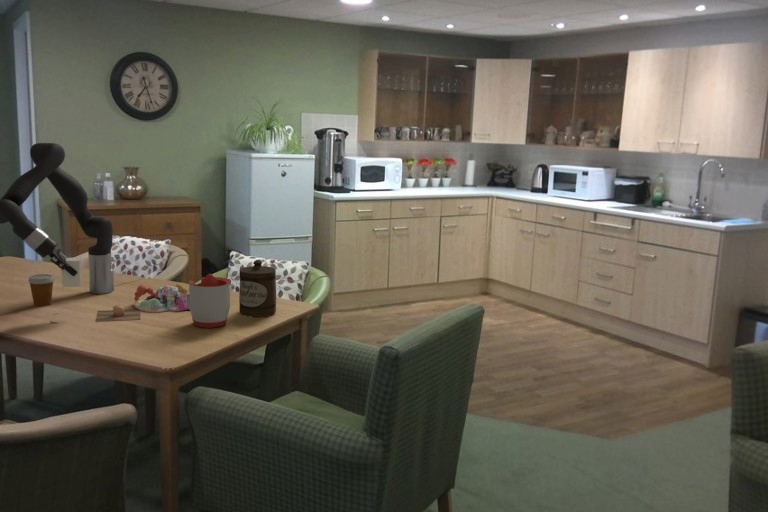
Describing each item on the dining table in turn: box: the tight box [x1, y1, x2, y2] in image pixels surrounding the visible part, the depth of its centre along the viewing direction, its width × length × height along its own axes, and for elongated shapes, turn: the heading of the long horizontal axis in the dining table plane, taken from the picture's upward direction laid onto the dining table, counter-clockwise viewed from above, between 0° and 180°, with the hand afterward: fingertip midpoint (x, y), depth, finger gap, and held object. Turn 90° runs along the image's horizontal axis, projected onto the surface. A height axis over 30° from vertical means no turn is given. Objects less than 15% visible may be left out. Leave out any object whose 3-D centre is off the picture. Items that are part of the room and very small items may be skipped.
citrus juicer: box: [188, 273, 232, 329], centre depth 269 cm, size 16×17×20 cm
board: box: [95, 308, 141, 323], centre depth 275 cm, size 16×16×1 cm
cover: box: [61, 257, 83, 288], centre depth 267 cm, size 6×6×10 cm
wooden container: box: [238, 259, 277, 318], centre depth 287 cm, size 15×15×22 cm
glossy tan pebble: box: [112, 304, 125, 317], centre depth 275 cm, size 4×4×4 cm
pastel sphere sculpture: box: [133, 283, 190, 314], centre depth 292 cm, size 25×24×9 cm
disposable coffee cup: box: [27, 273, 55, 307], centre depth 286 cm, size 10×10×12 cm
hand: (76, 272), depth 268 cm, fingers closed on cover, 6 cm apart
